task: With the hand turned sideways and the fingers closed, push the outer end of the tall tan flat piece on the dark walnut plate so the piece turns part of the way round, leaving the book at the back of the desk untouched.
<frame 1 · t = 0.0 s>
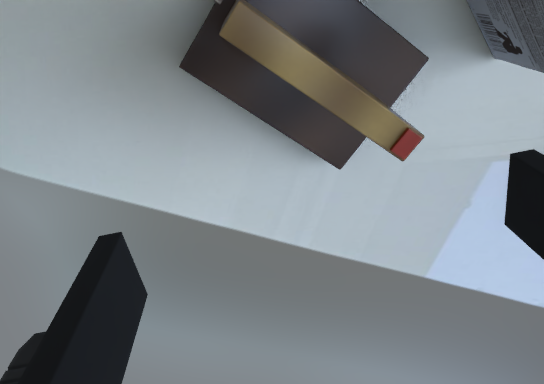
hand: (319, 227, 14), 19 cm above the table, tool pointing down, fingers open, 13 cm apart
lock plate: (302, 58, 30), on the table
tan flat piece: (316, 74, 25), point 6 cm above the table, hinge at 0.0°
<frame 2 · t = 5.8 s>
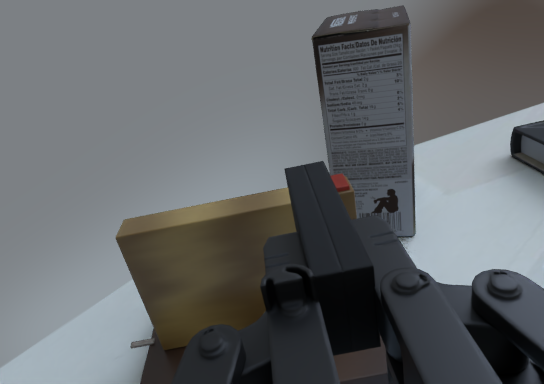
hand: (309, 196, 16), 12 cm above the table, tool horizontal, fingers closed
lock plate: (270, 344, 26), on the table
coffee box: (376, 210, 37), on the table
tan flat piece: (249, 265, 23), point 6 cm above the table, hinge at 0.0°
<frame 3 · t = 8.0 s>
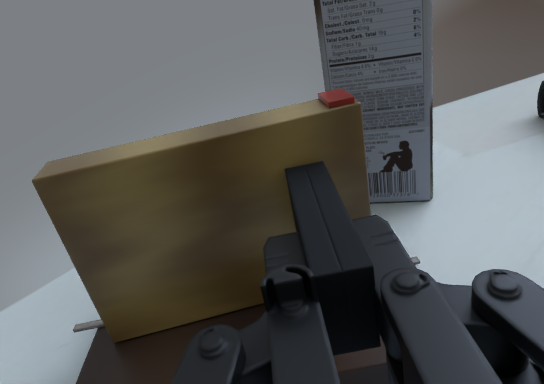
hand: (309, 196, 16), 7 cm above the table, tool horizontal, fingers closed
lock plate: (254, 327, 20), on the table
coffee box: (384, 175, 32), on the table
tan flat piece: (224, 219, 17), point 6 cm above the table, hinge at 5.6°, touching gripper
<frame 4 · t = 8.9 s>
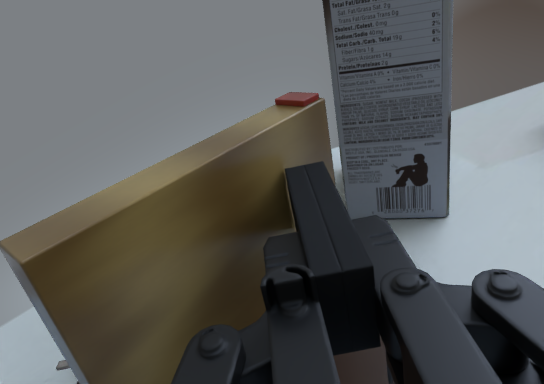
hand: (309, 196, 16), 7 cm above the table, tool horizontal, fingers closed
lock plate: (257, 363, 18), on the table
coffee box: (395, 188, 30), on the table
tan flat piece: (224, 249, 15), point 6 cm above the table, hinge at 43.8°, touching gripper
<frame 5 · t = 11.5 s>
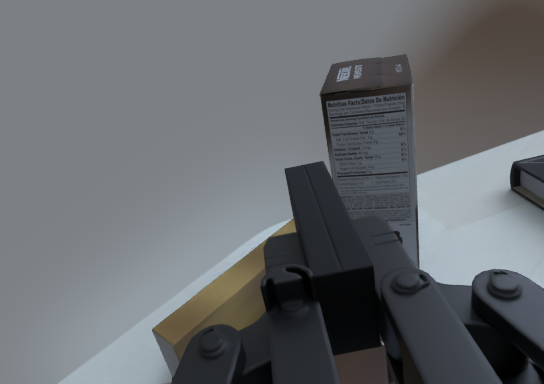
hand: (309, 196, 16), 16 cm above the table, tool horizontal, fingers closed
coffee box: (381, 245, 39), on the table
tan flat piece: (264, 316, 24), point 6 cm above the table, hinge at 43.9°
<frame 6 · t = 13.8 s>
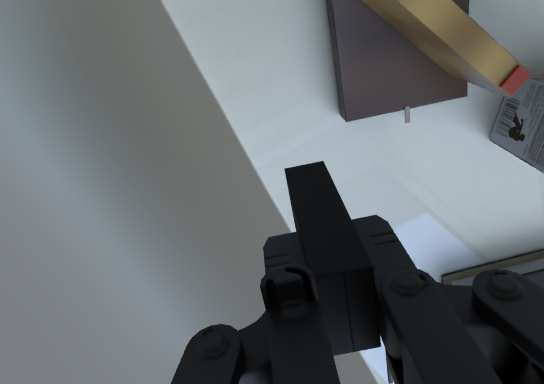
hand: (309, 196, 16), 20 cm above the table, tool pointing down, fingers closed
book: (509, 329, 49), on the table
lock plate: (392, 15, 32), on the table
tan flat piece: (425, 21, 27), point 6 cm above the table, hinge at 43.9°
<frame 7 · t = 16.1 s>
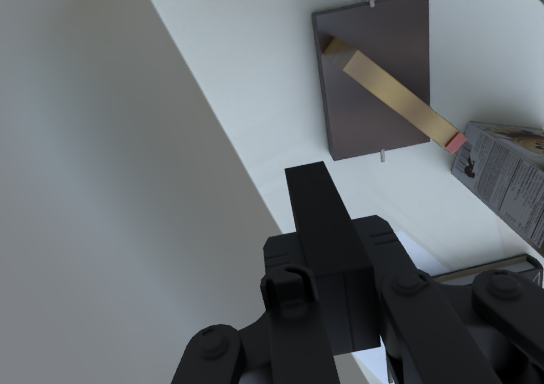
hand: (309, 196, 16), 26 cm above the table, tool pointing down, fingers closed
book: (473, 326, 57), on the table
lock plate: (371, 79, 41), on the table
coffee box: (495, 151, 46), on the table
tan flat piece: (391, 93, 35), point 6 cm above the table, hinge at 43.9°
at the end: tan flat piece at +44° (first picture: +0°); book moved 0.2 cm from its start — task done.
